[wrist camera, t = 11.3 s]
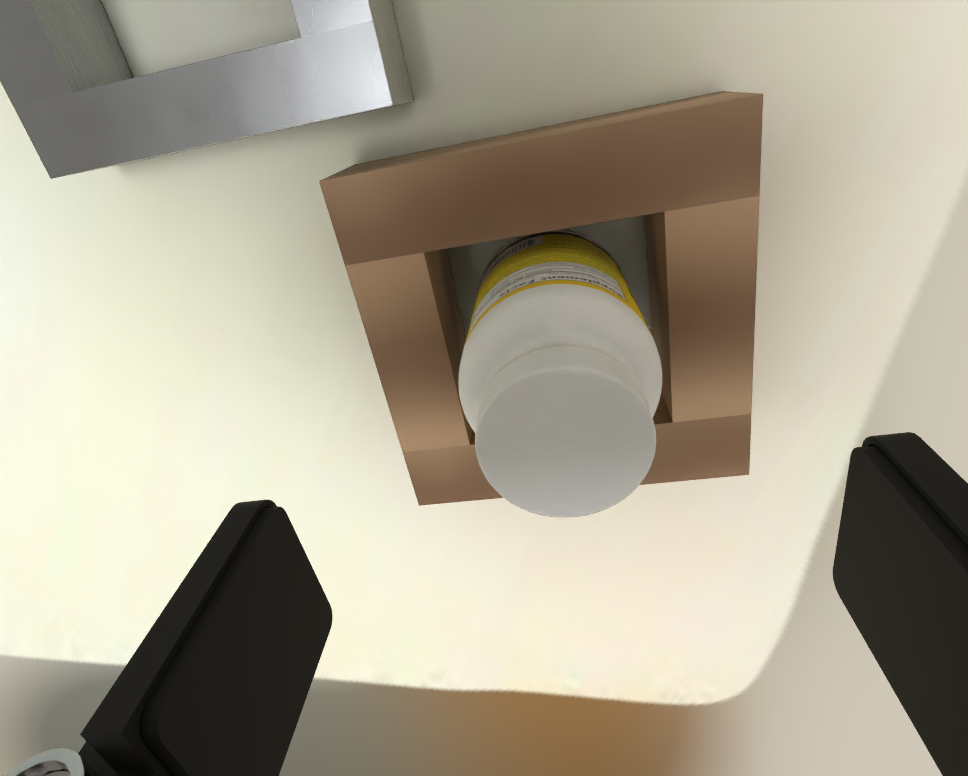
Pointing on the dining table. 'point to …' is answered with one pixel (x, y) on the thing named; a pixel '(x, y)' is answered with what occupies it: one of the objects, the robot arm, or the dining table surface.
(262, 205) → the dining table surface
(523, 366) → the supplement bottle
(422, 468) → the block
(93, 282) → the dining table surface
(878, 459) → the robot arm
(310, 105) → the socket block
